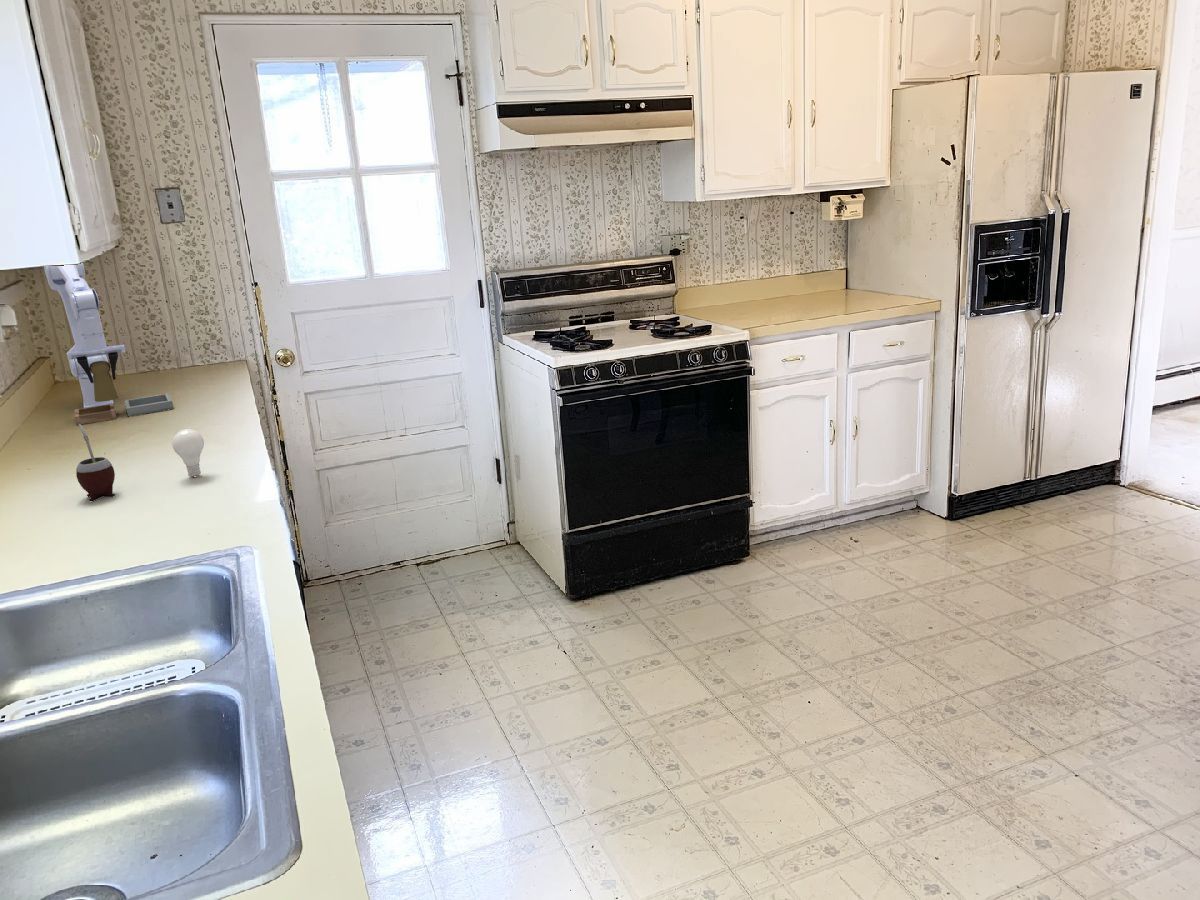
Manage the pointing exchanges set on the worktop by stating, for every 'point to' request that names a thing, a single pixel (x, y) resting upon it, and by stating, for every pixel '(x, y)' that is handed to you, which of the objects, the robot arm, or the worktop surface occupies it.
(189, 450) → the lightbulb
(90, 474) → the mate gourd
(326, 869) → the worktop surface
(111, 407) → the wooden square frame
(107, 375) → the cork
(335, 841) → the worktop surface
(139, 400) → the tray
